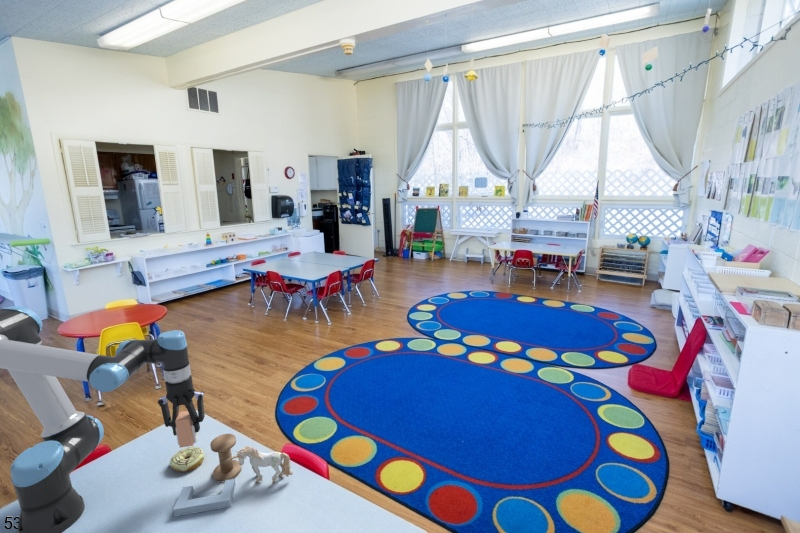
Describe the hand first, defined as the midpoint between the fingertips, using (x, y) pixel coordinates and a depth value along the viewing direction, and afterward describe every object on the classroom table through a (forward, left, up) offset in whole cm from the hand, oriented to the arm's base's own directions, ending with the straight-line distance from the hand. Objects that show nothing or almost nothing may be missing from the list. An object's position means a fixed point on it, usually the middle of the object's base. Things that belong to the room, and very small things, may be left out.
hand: (188, 441), depth 132 cm
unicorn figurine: (+24, -9, -15) cm, 29 cm away
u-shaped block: (+7, -11, -15) cm, 19 cm away
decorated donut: (-4, +8, -15) cm, 18 cm away
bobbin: (+11, 0, -15) cm, 18 cm away
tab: (0, 0, 0) cm, 0 cm away
